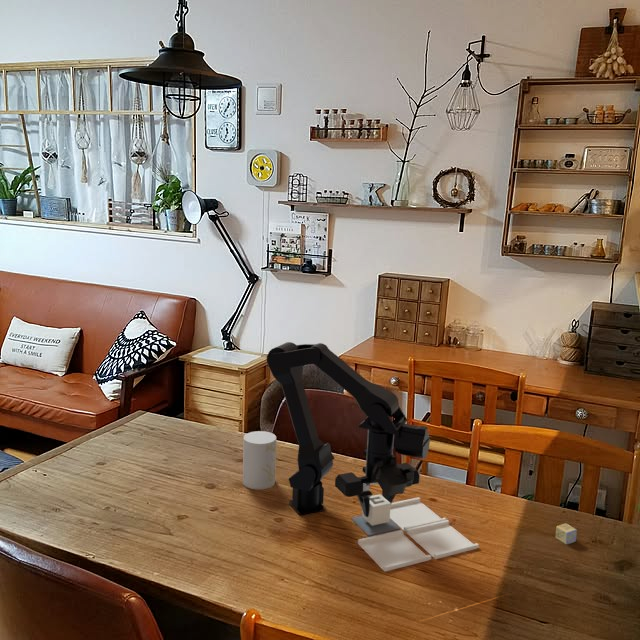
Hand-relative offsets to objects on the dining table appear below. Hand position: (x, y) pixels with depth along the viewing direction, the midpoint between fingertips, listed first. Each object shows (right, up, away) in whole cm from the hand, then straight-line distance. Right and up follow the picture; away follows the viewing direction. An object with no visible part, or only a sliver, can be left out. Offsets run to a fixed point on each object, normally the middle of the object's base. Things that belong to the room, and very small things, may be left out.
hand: (375, 514), depth 144 cm
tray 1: (+9, -2, +5) cm, 10 cm away
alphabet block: (+41, -5, -2) cm, 42 cm away
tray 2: (+14, -4, -5) cm, 15 cm away
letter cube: (0, -1, 0) cm, 1 cm away
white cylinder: (-28, +2, +19) cm, 34 cm away
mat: (0, -2, 0) cm, 2 cm away
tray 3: (+3, -5, -10) cm, 11 cm away
